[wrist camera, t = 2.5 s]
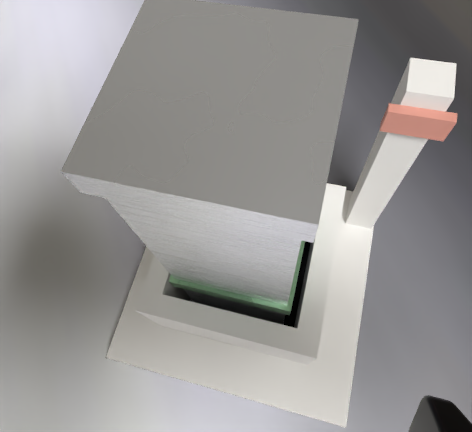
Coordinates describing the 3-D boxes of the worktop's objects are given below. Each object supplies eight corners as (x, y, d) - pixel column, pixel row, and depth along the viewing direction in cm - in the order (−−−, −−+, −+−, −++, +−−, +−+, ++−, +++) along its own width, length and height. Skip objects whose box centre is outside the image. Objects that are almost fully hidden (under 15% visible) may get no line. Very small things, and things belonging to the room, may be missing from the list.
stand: (347, 427, 16) (449, 476, 7) (112, 359, 18) (-50, 327, 9) (377, 203, 20) (468, 49, 11) (181, 165, 22) (118, 5, 13)
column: (285, 333, 18) (319, 225, 6) (192, 309, 18) (60, 172, 7) (304, 242, 19) (358, 19, 8) (218, 223, 20) (147, -6, 8)
